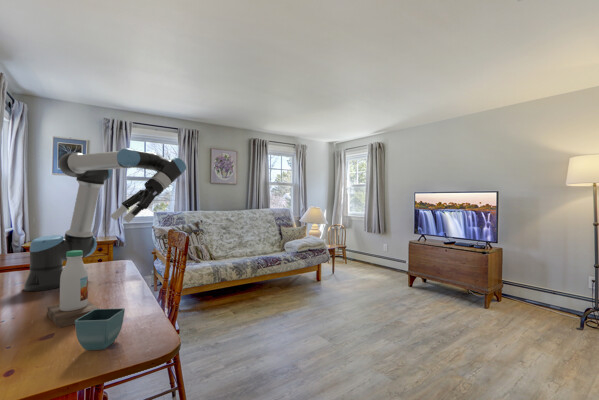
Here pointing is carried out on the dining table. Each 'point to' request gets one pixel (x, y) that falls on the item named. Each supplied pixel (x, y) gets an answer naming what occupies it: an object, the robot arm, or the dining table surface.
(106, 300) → the dining table surface
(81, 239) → the robot arm
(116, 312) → the flower pot
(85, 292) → the milk bottle
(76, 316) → the brown flat block
